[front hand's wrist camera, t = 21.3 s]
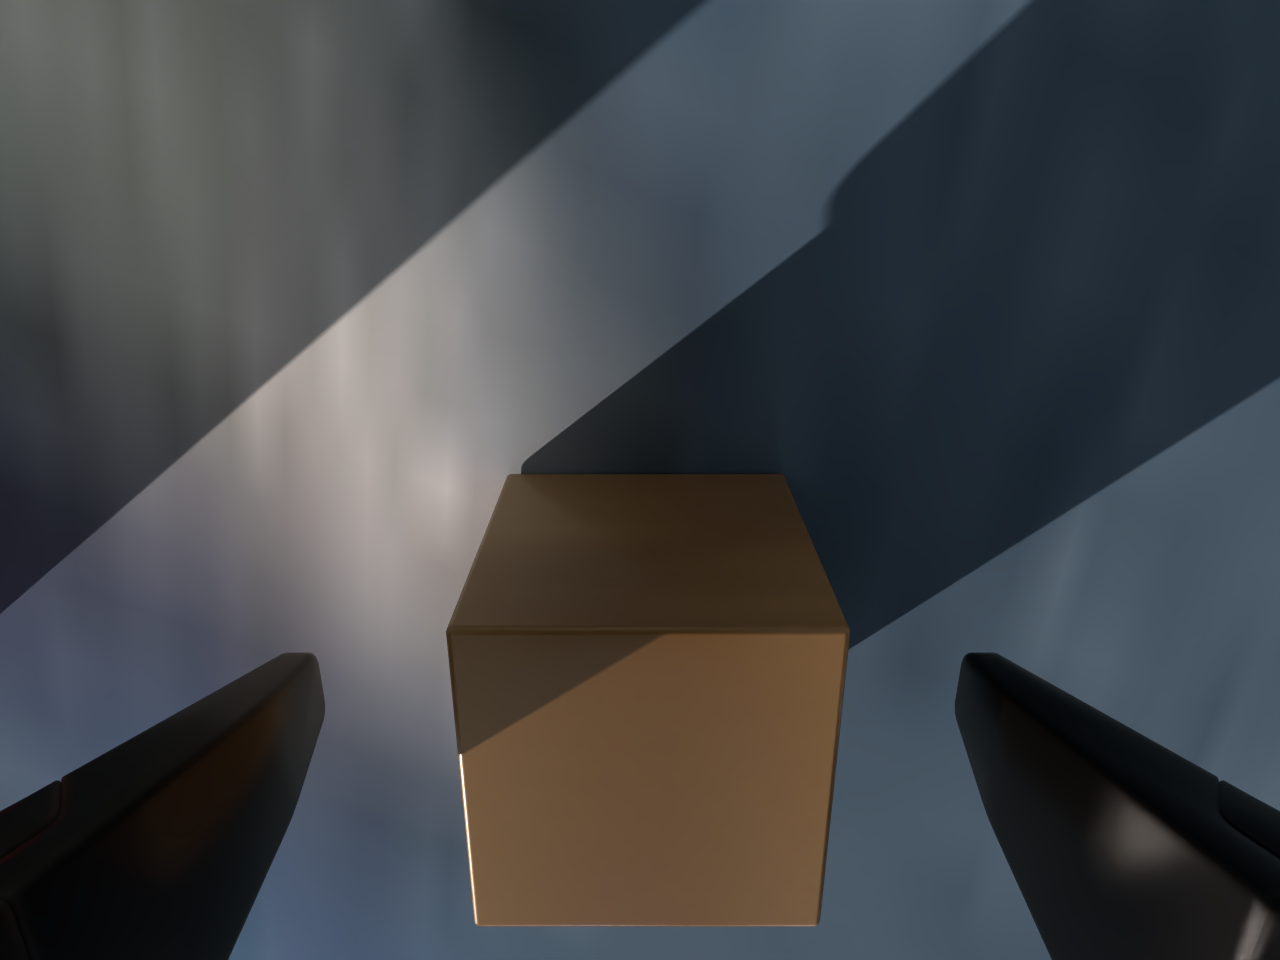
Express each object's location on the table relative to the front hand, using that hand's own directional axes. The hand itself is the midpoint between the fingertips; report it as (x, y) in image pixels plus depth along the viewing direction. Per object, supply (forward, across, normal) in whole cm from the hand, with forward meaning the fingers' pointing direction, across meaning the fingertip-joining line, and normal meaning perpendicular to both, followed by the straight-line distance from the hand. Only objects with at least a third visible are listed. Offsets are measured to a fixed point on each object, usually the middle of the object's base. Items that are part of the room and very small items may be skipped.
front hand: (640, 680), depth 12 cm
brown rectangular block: (+2, 0, 0) cm, 3 cm away
